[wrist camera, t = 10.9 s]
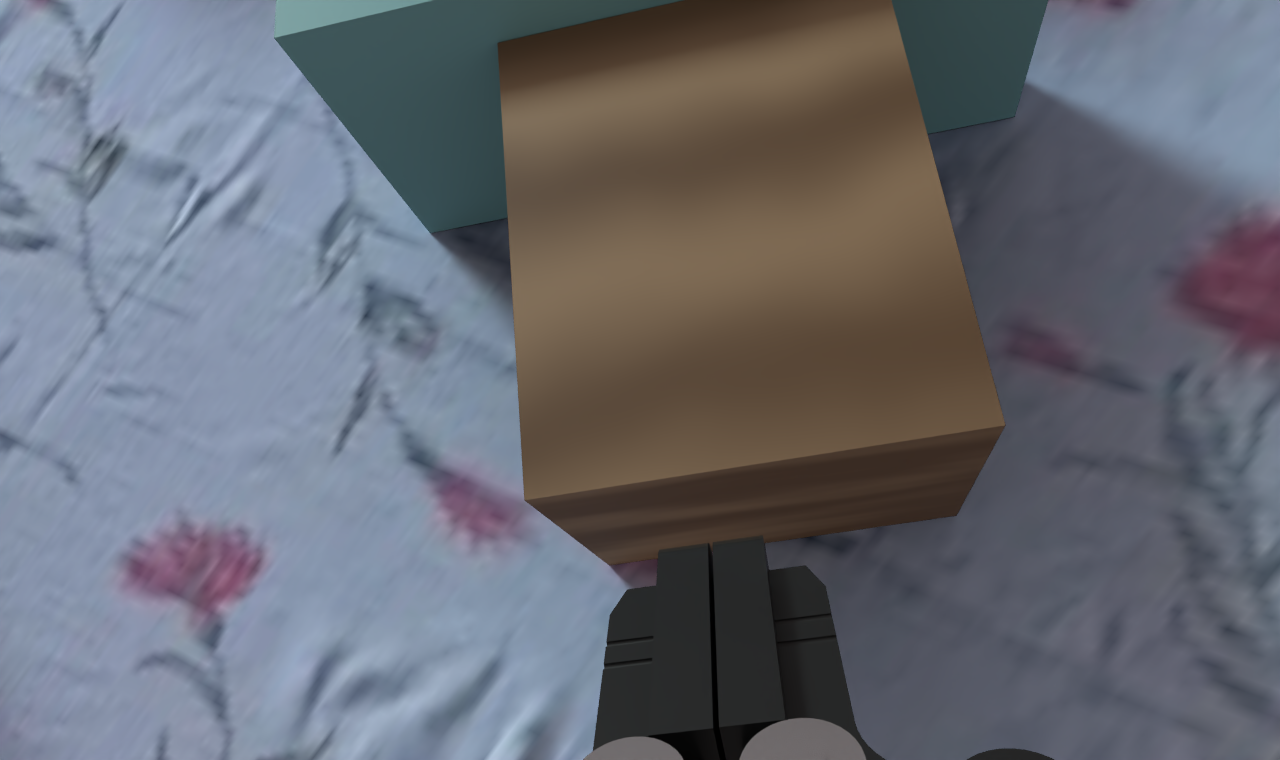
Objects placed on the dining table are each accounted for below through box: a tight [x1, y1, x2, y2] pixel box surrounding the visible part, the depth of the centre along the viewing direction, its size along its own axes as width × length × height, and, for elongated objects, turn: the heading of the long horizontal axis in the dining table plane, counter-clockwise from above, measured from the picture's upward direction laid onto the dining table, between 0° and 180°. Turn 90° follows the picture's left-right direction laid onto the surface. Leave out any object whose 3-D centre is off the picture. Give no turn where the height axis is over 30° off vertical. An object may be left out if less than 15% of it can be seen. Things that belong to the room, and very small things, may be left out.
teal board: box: [274, 0, 1048, 233], centre depth 33 cm, size 2×24×12 cm, turn 96°
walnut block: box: [497, 0, 1005, 565], centre depth 31 cm, size 15×12×10 cm
